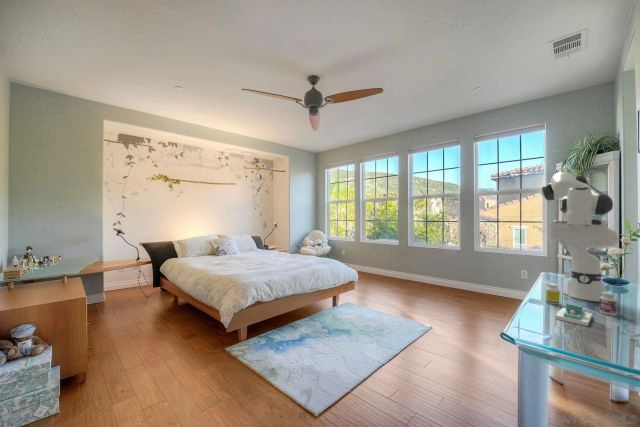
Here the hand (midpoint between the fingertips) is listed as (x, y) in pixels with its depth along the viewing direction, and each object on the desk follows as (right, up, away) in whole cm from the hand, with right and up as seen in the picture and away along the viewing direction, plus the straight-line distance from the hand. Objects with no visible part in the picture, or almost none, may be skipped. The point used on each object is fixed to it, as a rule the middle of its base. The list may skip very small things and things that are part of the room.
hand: (579, 250), depth 126 cm
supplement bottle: (-2, -29, +13) cm, 32 cm away
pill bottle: (+12, -30, -2) cm, 32 cm away
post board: (-10, -29, -8) cm, 31 cm away
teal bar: (-10, -28, -8) cm, 30 cm away
